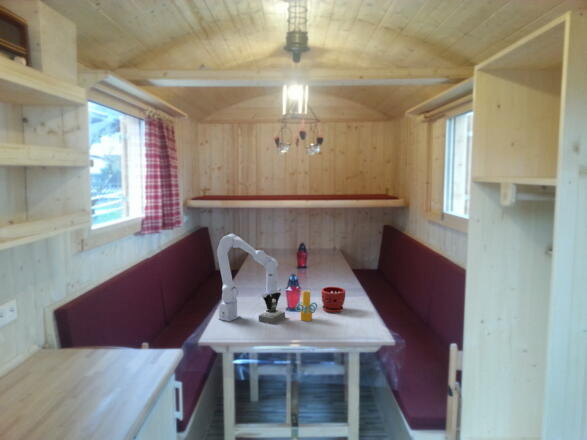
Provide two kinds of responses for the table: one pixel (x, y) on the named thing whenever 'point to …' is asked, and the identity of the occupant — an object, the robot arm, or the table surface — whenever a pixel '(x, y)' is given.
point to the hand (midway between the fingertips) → (272, 307)
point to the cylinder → (306, 306)
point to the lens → (273, 307)
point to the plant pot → (333, 299)
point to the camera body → (271, 316)
